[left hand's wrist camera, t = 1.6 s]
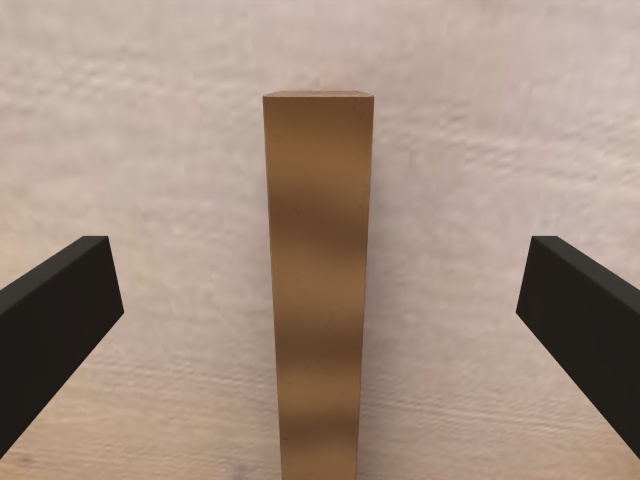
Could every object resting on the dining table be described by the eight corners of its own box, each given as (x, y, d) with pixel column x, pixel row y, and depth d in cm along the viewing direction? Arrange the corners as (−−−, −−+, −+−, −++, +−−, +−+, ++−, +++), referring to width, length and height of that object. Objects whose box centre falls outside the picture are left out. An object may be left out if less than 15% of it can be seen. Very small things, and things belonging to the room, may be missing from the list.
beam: (279, 91, 24) (262, 95, 17) (358, 90, 24) (374, 95, 17) (297, 595, 43) (292, 696, 36) (341, 595, 43) (345, 696, 36)
